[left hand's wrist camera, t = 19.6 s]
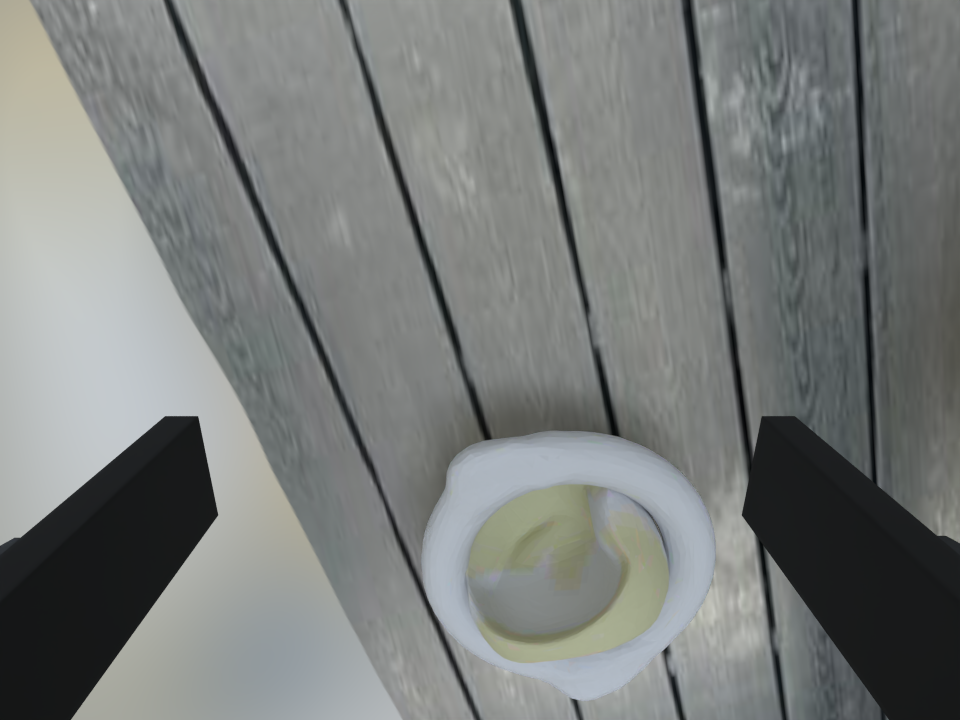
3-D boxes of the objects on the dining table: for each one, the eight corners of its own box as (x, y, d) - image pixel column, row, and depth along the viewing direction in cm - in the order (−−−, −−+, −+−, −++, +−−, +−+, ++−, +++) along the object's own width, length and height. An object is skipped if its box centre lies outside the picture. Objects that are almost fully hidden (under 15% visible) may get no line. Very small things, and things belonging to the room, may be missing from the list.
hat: (712, 566, 51) (801, 724, 37) (494, 637, 54) (499, 808, 40) (629, 332, 43) (701, 421, 29) (378, 432, 46) (334, 556, 32)
